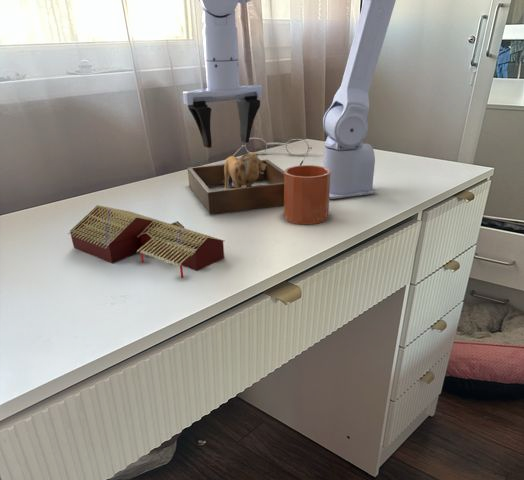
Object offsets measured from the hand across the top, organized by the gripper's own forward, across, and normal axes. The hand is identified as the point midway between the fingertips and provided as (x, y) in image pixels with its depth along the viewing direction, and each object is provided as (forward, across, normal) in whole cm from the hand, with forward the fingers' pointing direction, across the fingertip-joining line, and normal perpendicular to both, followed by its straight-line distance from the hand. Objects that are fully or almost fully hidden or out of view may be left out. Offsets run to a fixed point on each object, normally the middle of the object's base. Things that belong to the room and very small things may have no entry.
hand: (226, 144), depth 94 cm
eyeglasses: (+10, -20, -20) cm, 30 cm away
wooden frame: (+10, -3, -2) cm, 11 cm away
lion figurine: (+10, -3, -2) cm, 11 cm away
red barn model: (+10, +22, +18) cm, 30 cm away
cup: (+10, -7, +16) cm, 21 cm away
